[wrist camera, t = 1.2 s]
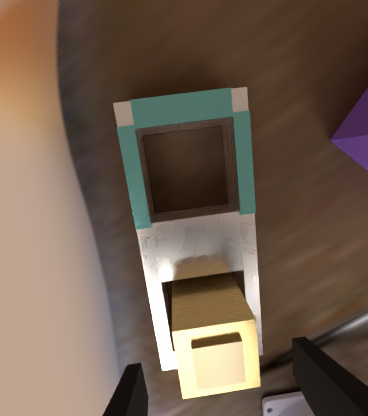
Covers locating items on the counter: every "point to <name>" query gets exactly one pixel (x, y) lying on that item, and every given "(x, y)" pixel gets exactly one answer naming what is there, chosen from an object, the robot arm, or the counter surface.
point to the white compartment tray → (195, 217)
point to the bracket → (355, 133)
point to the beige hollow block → (213, 336)
